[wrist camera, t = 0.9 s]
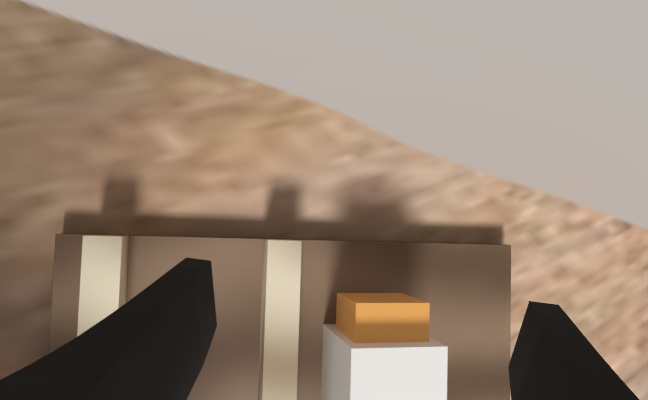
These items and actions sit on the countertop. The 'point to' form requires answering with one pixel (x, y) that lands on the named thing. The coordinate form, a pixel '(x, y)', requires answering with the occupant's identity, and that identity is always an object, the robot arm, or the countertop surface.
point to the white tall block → (382, 350)
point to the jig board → (297, 303)
